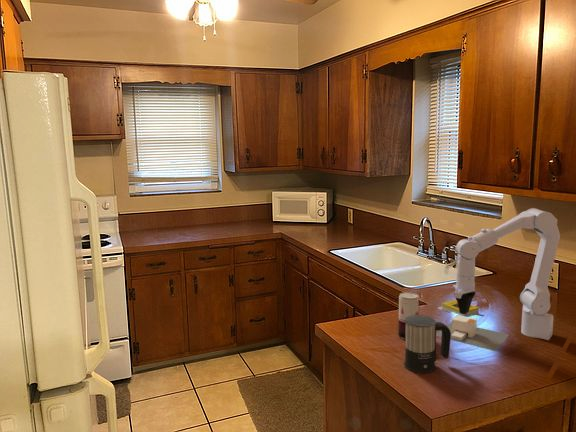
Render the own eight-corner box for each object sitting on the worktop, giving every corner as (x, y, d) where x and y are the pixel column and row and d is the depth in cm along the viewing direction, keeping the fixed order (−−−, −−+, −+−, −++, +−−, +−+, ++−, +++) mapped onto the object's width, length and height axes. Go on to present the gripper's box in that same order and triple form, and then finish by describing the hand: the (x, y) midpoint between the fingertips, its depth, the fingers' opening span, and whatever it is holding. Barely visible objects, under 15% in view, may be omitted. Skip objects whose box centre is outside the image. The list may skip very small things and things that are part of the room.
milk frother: (416, 376, 136) (417, 328, 134) (384, 354, 150) (385, 310, 148) (454, 366, 142) (456, 319, 139) (420, 346, 156) (421, 303, 154)
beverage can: (421, 338, 162) (422, 296, 160) (405, 341, 160) (406, 299, 157) (410, 331, 168) (411, 291, 166) (394, 334, 166) (395, 293, 163)
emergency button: (466, 310, 177) (436, 299, 190) (466, 321, 178) (436, 309, 191) (483, 305, 182) (452, 295, 195) (482, 316, 182) (452, 305, 195)
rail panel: (509, 337, 161) (509, 331, 161) (495, 353, 149) (495, 347, 149) (451, 324, 174) (451, 318, 174) (434, 338, 162) (434, 332, 161)
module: (476, 333, 163) (476, 319, 162) (471, 337, 159) (472, 323, 158) (456, 328, 167) (456, 314, 166) (451, 332, 164) (451, 318, 163)
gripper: (461, 268, 168) (459, 304, 170) (446, 277, 157) (444, 316, 159) (481, 271, 164) (479, 308, 166) (467, 281, 153) (465, 321, 155)
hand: (464, 312), depth 162 cm, fingers closed
